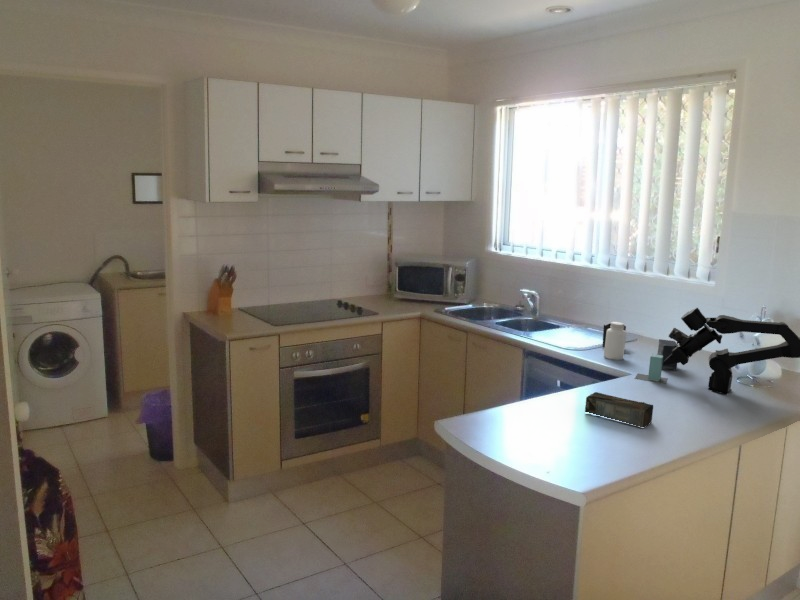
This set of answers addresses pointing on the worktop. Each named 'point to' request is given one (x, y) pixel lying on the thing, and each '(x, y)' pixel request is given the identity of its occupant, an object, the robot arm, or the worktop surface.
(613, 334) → the pill bottle
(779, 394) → the worktop surface
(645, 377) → the mat
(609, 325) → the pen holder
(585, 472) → the worktop surface
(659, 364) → the block
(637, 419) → the dark wooden bar
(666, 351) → the small box
